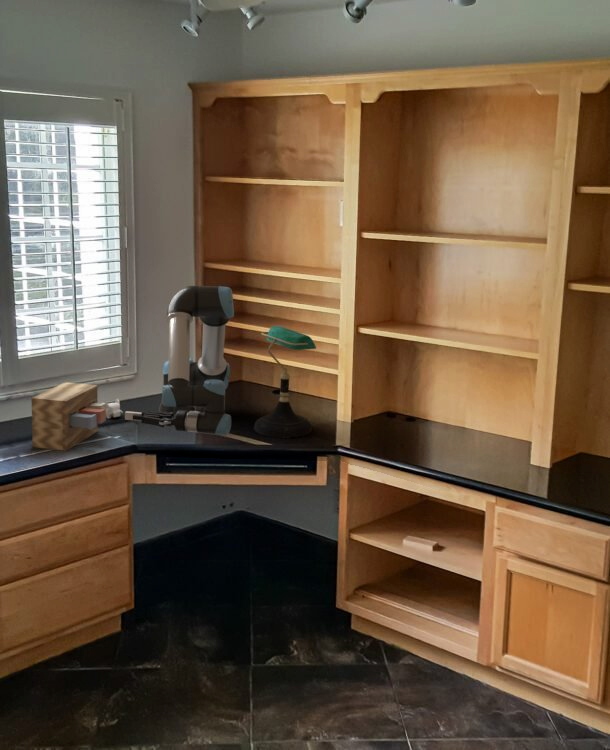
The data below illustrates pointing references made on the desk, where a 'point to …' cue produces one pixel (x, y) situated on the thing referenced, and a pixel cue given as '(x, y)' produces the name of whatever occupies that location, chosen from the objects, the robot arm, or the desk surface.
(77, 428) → the wooden box
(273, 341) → the banker's lamp
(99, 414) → the brick key
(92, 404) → the white key
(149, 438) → the desk surface
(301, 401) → the desk surface
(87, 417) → the slate key
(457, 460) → the desk surface
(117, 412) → the elephant figurine
